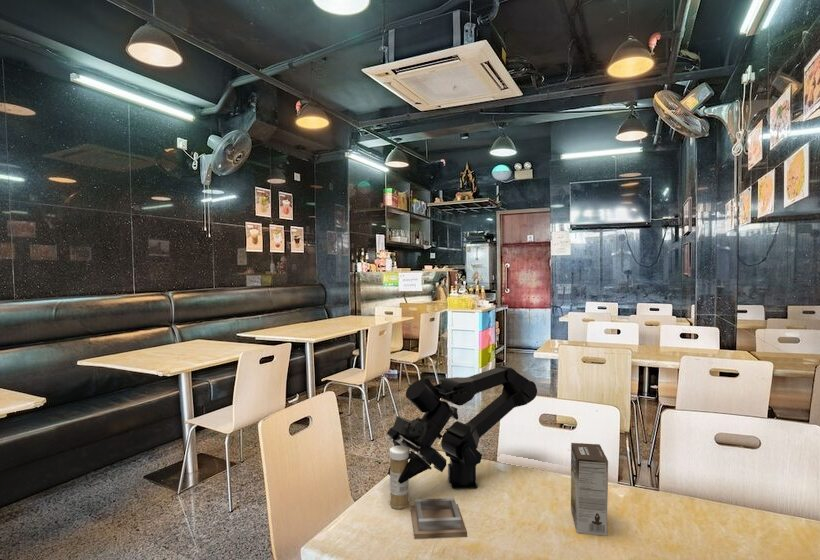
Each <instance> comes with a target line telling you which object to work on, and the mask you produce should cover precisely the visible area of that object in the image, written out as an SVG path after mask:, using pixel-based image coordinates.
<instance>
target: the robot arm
mask: <svg viewBox="0 0 820 560" xmlns="http://www.w3.org/2000/svg"><path fill="white" fill-rule="evenodd" d="M497 386H502V389H501V390H502V391H501V394H499V396H498V397H496V398H495V399H494V400H492V402H490V403H489V404H488V405H487V406H485V407H484V408H483V409H482V410H481V411H480V412H478V413H477V414H476V415H475V416H474V417H472V418H471V419H470V420H469V421H468V422H467V423H463V422H461V421H458V419H459V414H458V408H457V407H455V406H451V405H450V404H449V403H451V404H452V405H453V404H454V405H456V406H459V407H461V406H464V405H465V404H467V403H469V402H470V401H472V400H473V398H474V397H475V396H476V395H477V394H479V393H481V392H484V391H487V390H490V389H492V388H495V387H497ZM537 395H538V389H537V384H536V383H535V382H534V381H532V380H529V379H528V378H527V377H525V376H524V375H522V374H520V373H518V371H516V369H514V368H513V367H511V366H505V365H498V366H496V367H495V368H491V369H489V370H485V371H483V372H479V373H476V374H473V375H471V376H467V377H462V376H461V377H459V376H458V377H457V376H456V377H446V378H444V379H442V381H441V382H440V383H436V384H432V381H431V380H430V379H429V378H428V377H425V376H421V378H420V379H418V380H416V381H414V382H412V383H411V384H409V386H408V387H407V388H406V391H405V397H406V399H408V401H409V402H410V403H411V404H412V405H413V406H414V407H416V409H417V410H418V411H420V413H424V414H423V416H422V417H421V418H420V417H416V418H415V419H414V418H413V419H412V420H410V419H407V418H405V417H401V416H396V418H395V421H394V424H393V426H391V427H390V428H389V429H388V431H387V432H386V435H388V437H390V438H391V440H392V443H393V446H406V447H407V448H408V449H409V458H408V464H407V465H406V467H405V469H404V470H403V472H402V474H401V475H400V477H399V479H398V482H399V483H400V484H402V483H404V482H405V481H407V480H409V481H410V480H411V479H412V478H414V477H415V476H417V475H419V474H421V473H423V472H425V471H427V470H430V471H431V470H432V466H431V465H433V468H434V469H436V470H437V471H438V472H441V473H443V471H444V470H445V468H446V467H447V480H448V483H449V484H450V485H451V488H452V489H453V490H461V489H465V490H466V489H477V488H478V484H477V478H476V477H477V476H476V475H477V470H476V469H477V465H479V464H481V462H482V459H483V458H482V457H483V454H482V453H481V452H480V451H479V450H478V446H479V442H480V438H482V437H483V436H484V435H485V434H487V432H488V431H490V430H491V429H492V428H493V427H494V426H495V425H497V423H498V422H500V421H501V420H502V419H503V418H505V416H506V415H508V414H509V412H511V411H512V410H513V409H515V408H518V407H523V406H526V405H528V404H529V403H531V402H532V401H534V399H536V397H537ZM441 399H442V400H441ZM451 418H452V419H454V420H456V421H454V422H453V423H452V425H451V426H449V427H448V428H445V431H444V433H443V434H441V433H442V431H443V429H444V427H446V425H447V423H448V422H449V420H450V419H451ZM436 439H439V440H441V442H440V444H441V449H442V450H443V451H444V454H445V456H446V457H448V458H449V463H447V459H446V458H445V457H444V456H443V455H442V454H441V453H440V452H439V451H438V450H437V449H435V448H434V447H432V446H433V444H434V443H435V442H436ZM415 452H416V453H415ZM387 474H388V476H390V466H389V467H388V470H387Z"/></svg>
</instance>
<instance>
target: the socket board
mask: <svg viewBox="0 0 820 560" xmlns="http://www.w3.org/2000/svg"><path fill="white" fill-rule="evenodd" d="M414 501H415V502H414V505H410V515H411V523H412V529H413V530H412V531H413V538H414V539H415V540H419V539H420V540H421V539H422V540H424V539H437V538H438V539H441V538H443V539H444V538H445V539H446V538H463V537H464V538H466V537H468V530H467V527H466V525H465V522H464V518H463V515H462V513H461V510H460V507H459V504H458V503H456V500H455V498H454V497H447V498H446V497H445V498H443V497H442V498H441V497H439V498H419V499H415V500H414Z"/></svg>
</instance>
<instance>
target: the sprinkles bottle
mask: <svg viewBox="0 0 820 560" xmlns="http://www.w3.org/2000/svg"><path fill="white" fill-rule="evenodd" d="M409 453H410V450H409V449H408V448H407V447H406V446H394V445H393V446H391V447H390V448H389V460H390V461H389V462H390V463H389V464H390V465H389V467H390V475H389V491H390V493H389V494H390V496H389V497H390V501H389V505H390V506H391V508H393V509H396V510H403V509H405V508H407V507H408V506H409V505H410V504H409V503H410V502H409V488H410V487H409V485H410V484H409V481H410V479H409V480H407V481H405V482H404V483H402V484H400V483H399V482H398V479H399V477H400V475H401V474H402V472H403V470H404V469H405V467H406V465H407V464H408V462H409V460H408V458H409Z"/></svg>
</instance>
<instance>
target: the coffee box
mask: <svg viewBox="0 0 820 560" xmlns="http://www.w3.org/2000/svg"><path fill="white" fill-rule="evenodd" d="M570 447H571V449H570V453H571V454H570V512H571V516H572V519H573V523H574V527H575V530H576V533H577V534H585V535H594V536H603V537H608V501H609V500H608V495H609V494H608V492H609V488H608V487H609V460H608V458H607V456H606V454H605V452H604V450H603V448H602V446H601V444H597V443H583V442H582V443H580V442H571V445H570Z"/></svg>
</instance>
